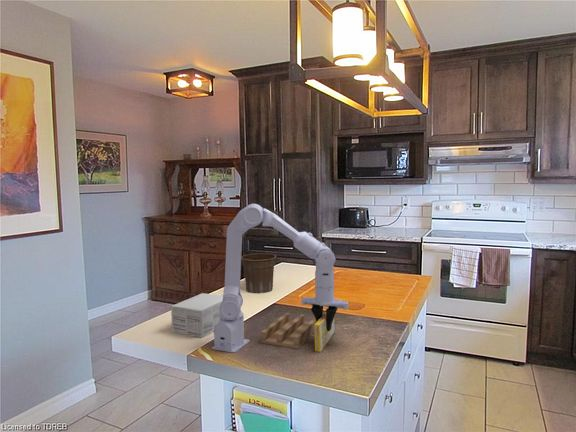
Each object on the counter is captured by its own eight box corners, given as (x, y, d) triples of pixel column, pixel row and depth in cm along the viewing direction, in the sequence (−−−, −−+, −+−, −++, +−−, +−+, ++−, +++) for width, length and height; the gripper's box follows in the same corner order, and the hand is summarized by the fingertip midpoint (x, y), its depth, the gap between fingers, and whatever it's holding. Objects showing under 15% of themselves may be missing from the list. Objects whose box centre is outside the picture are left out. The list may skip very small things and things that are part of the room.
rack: (298, 348, 119) (298, 337, 119) (260, 342, 124) (260, 331, 124) (319, 326, 138) (319, 316, 137) (286, 322, 143) (286, 312, 142)
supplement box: (202, 317, 150) (201, 292, 150) (232, 321, 145) (231, 296, 144) (171, 332, 135) (169, 305, 135) (202, 338, 129) (201, 309, 129)
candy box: (328, 332, 132) (328, 307, 132) (334, 333, 132) (334, 308, 131) (313, 351, 117) (313, 323, 117) (320, 352, 117) (320, 324, 116)
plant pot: (268, 296, 176) (267, 260, 174) (235, 293, 181) (234, 258, 180) (281, 287, 191) (281, 254, 190) (251, 285, 196) (250, 252, 195)
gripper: (351, 285, 124) (351, 328, 125) (306, 281, 130) (307, 322, 131) (345, 290, 117) (345, 335, 119) (298, 286, 123) (299, 329, 124)
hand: (324, 329), depth 124 cm, fingers closed
